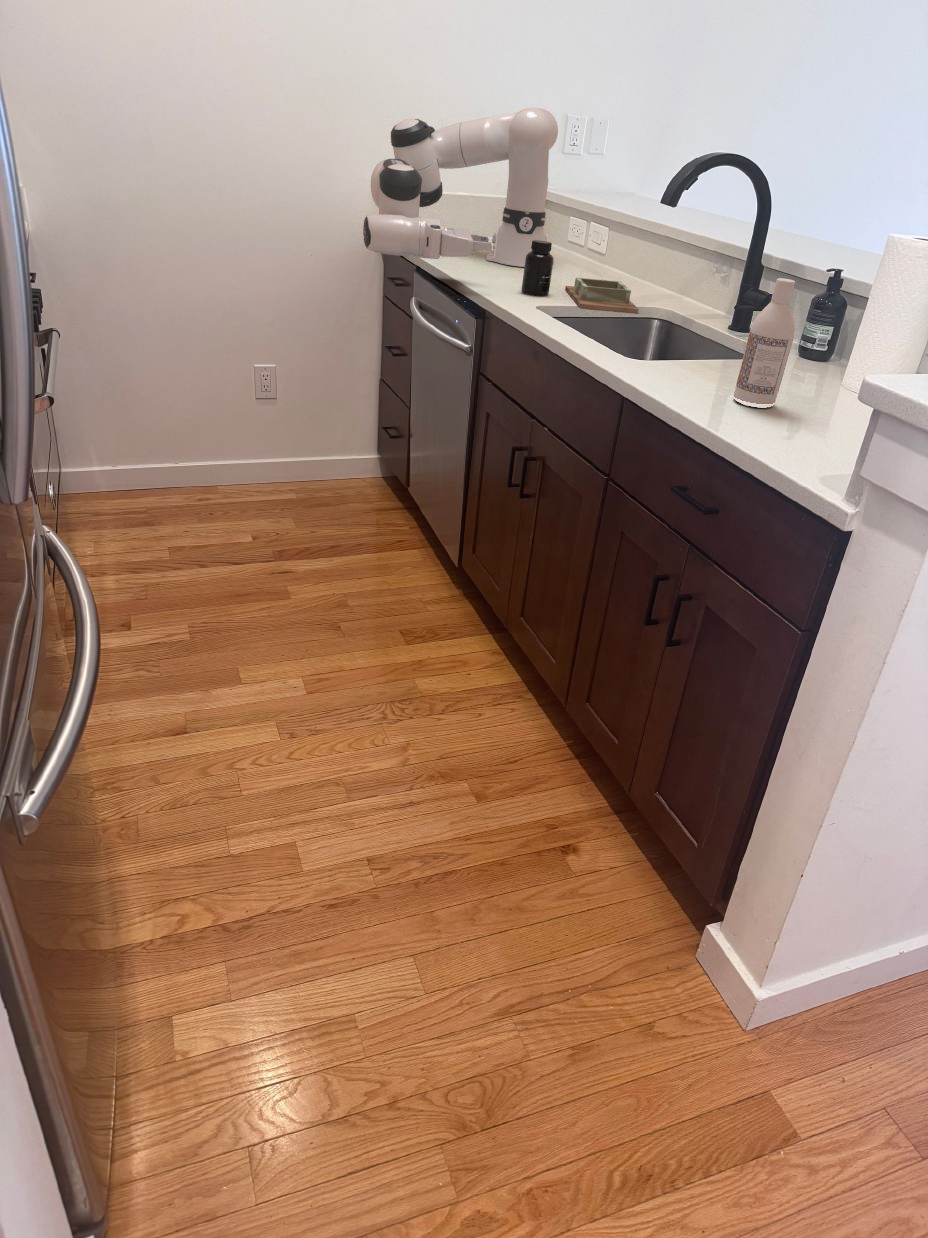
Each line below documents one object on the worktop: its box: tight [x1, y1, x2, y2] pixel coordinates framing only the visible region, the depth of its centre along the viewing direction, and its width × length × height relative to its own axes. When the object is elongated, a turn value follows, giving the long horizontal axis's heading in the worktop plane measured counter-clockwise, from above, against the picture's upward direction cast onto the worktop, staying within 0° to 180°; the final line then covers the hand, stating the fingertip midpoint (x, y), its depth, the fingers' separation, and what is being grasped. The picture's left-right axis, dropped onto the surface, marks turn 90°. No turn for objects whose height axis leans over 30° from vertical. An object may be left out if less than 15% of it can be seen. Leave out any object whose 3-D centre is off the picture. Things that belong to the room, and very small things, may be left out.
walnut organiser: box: [564, 277, 640, 314], centre depth 215 cm, size 22×14×4 cm, turn 4°
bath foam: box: [733, 277, 796, 404], centre depth 144 cm, size 7×7×20 cm
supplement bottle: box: [521, 240, 555, 297], centre depth 213 cm, size 7×7×12 cm
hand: (489, 243), depth 209 cm, fingers open, 8 cm apart
